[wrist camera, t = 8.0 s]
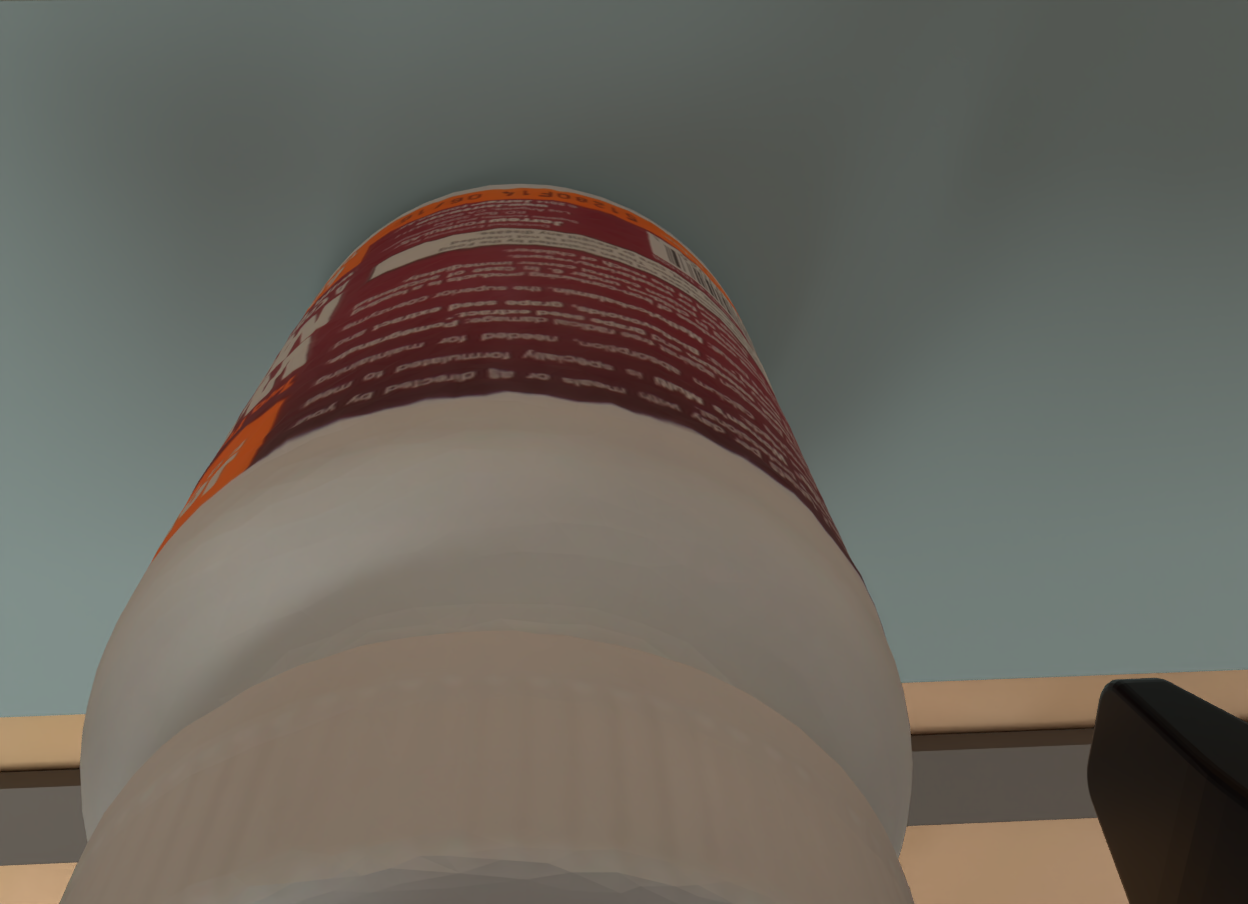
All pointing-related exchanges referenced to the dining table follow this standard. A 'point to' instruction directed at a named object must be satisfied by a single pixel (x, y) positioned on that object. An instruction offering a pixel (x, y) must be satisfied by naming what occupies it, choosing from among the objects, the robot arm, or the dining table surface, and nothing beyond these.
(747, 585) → the pill bottle
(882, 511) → the mat
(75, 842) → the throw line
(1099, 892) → the dining table surface
